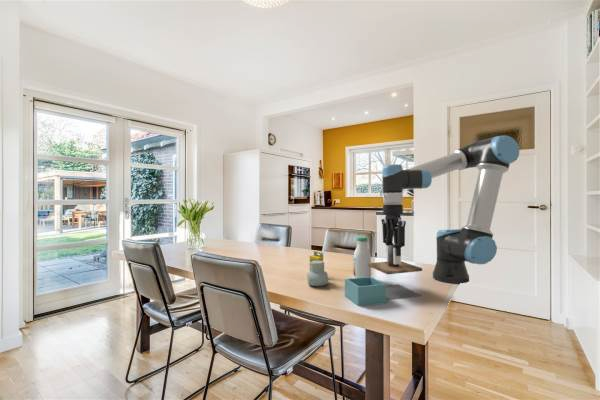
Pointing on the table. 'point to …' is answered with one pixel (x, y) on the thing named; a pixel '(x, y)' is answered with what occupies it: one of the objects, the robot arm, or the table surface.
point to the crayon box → (316, 257)
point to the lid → (393, 265)
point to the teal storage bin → (365, 291)
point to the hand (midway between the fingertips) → (393, 262)
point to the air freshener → (317, 274)
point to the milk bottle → (362, 259)
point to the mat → (399, 292)
